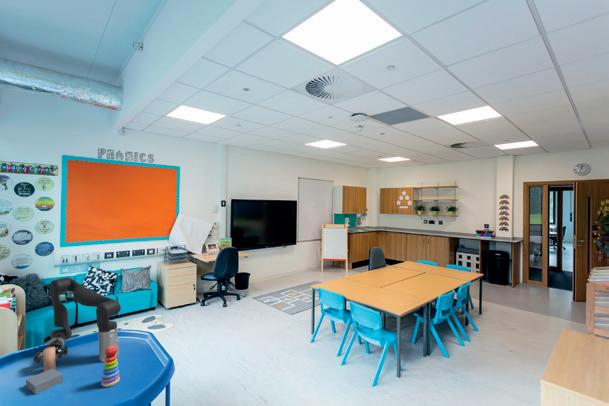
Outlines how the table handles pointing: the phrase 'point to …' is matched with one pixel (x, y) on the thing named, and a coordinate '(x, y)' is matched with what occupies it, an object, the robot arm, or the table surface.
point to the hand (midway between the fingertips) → (48, 359)
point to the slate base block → (44, 381)
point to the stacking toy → (110, 368)
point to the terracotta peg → (49, 358)
